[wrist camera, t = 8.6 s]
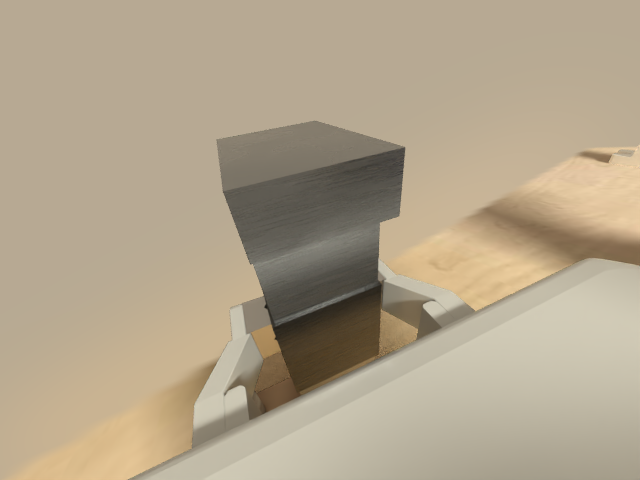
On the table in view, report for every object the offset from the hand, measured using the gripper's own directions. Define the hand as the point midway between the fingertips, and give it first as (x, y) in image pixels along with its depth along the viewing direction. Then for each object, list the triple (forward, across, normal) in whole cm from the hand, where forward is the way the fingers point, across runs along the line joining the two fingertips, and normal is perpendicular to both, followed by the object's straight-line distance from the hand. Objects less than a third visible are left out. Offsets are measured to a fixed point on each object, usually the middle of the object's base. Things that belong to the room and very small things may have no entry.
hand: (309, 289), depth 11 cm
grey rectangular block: (-1, 0, +6) cm, 6 cm away
